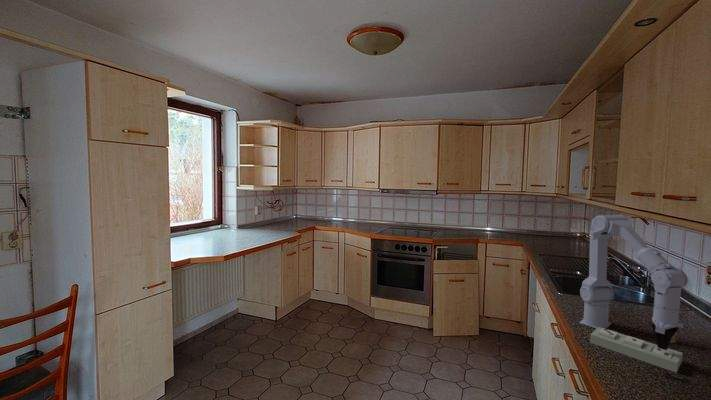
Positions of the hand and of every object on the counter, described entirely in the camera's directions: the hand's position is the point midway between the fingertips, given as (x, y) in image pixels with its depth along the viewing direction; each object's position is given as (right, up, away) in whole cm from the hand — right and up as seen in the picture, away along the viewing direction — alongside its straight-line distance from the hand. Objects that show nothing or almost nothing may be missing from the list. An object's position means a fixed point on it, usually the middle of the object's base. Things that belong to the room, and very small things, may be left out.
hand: (662, 348), depth 103 cm
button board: (-4, -4, +6) cm, 8 cm away
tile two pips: (0, -3, 0) cm, 3 cm away
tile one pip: (-4, -2, +6) cm, 7 cm away
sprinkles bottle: (+14, -3, +13) cm, 20 cm away
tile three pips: (-9, -1, +11) cm, 14 cm away
